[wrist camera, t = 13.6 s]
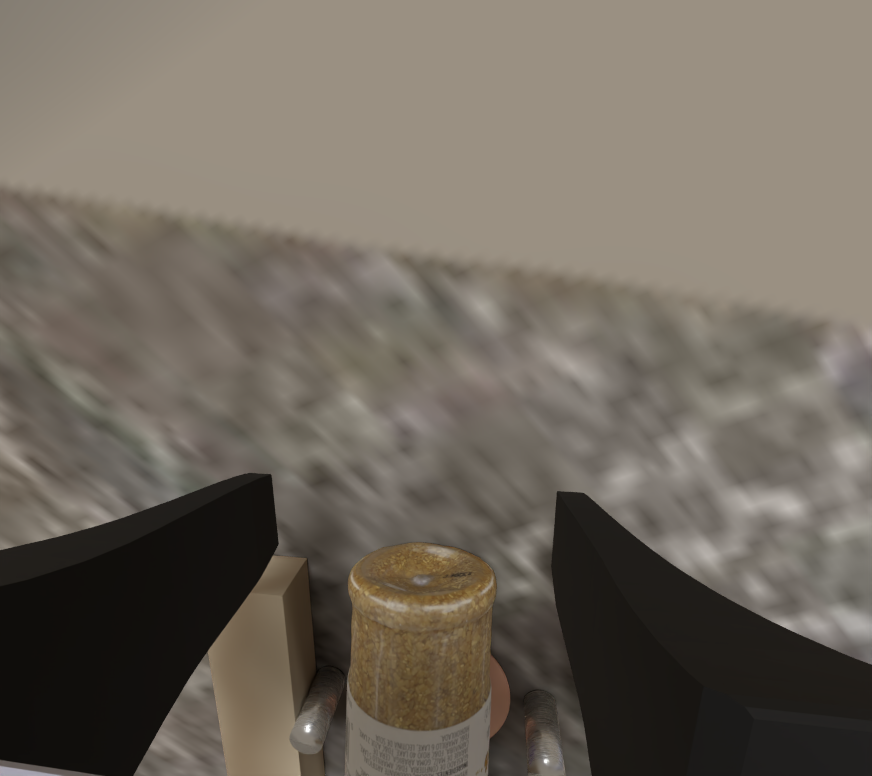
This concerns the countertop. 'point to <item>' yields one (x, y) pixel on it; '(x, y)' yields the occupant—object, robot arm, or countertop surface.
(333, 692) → the guide pins
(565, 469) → the countertop surface
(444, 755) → the sprinkles bottle
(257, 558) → the robot arm
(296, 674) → the wooden bar with disc
